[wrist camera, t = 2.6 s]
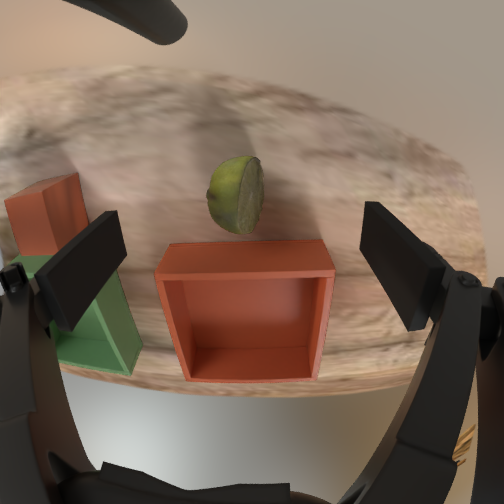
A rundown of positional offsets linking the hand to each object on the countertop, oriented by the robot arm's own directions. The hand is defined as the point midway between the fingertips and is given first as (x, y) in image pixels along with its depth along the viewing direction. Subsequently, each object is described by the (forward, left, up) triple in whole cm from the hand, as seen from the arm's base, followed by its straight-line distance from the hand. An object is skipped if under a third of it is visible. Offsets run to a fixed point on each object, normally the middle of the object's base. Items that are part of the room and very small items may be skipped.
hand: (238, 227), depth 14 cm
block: (0, -16, -7) cm, 17 cm away
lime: (0, 0, -7) cm, 7 cm away
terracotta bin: (+10, 0, -7) cm, 12 cm away
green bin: (+10, -18, -7) cm, 22 cm away
